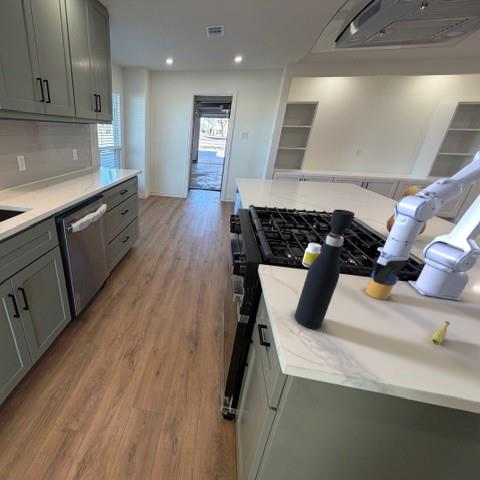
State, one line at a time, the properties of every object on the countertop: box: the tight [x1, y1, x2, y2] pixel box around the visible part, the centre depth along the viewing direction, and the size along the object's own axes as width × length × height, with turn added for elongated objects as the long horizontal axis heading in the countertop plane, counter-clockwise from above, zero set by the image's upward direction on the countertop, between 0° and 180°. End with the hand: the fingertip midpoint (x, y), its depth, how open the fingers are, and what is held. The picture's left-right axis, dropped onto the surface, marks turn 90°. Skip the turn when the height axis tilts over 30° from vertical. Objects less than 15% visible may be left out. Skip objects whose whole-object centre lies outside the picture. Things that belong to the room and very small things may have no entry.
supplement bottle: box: [301, 242, 322, 269], centre depth 93 cm, size 5×5×8 cm
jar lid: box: [370, 269, 399, 286], centre depth 76 cm, size 6×6×2 cm
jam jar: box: [365, 277, 395, 301], centre depth 77 cm, size 5×5×6 cm
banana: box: [430, 320, 451, 345], centre depth 61 cm, size 8×2×4 cm, turn 124°
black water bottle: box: [293, 208, 356, 330], centre depth 61 cm, size 6×6×30 cm
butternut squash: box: [386, 185, 428, 237], centre depth 118 cm, size 14×13×25 cm
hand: (383, 279), depth 77 cm, fingers closed on jar lid, 6 cm apart
